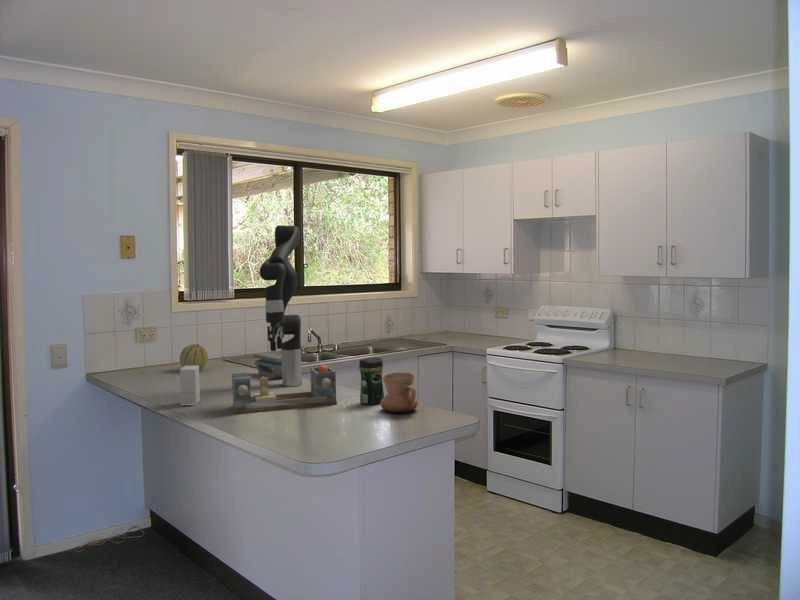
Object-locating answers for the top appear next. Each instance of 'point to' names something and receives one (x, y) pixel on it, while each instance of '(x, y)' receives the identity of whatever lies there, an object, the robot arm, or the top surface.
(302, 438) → the top surface
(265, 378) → the carriage
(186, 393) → the skincare box
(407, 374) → the ceramic jug
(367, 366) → the coffee jar
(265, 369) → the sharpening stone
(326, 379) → the rail track
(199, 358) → the cantaloupe
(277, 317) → the robot arm
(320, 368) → the button
